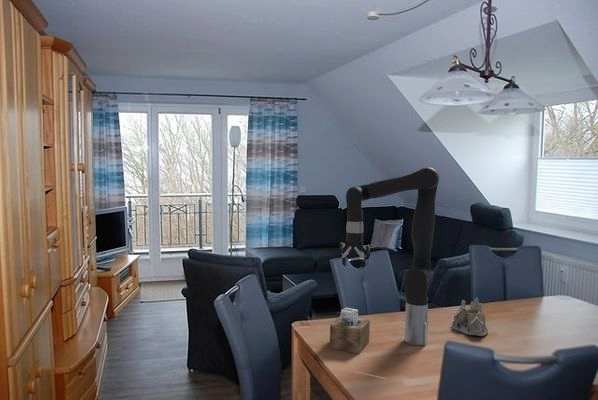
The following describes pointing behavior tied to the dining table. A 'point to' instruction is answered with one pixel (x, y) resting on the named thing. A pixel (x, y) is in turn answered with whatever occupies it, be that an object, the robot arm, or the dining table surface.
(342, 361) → the dining table surface
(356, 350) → the box
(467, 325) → the ceramic cottage
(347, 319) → the syrup box
